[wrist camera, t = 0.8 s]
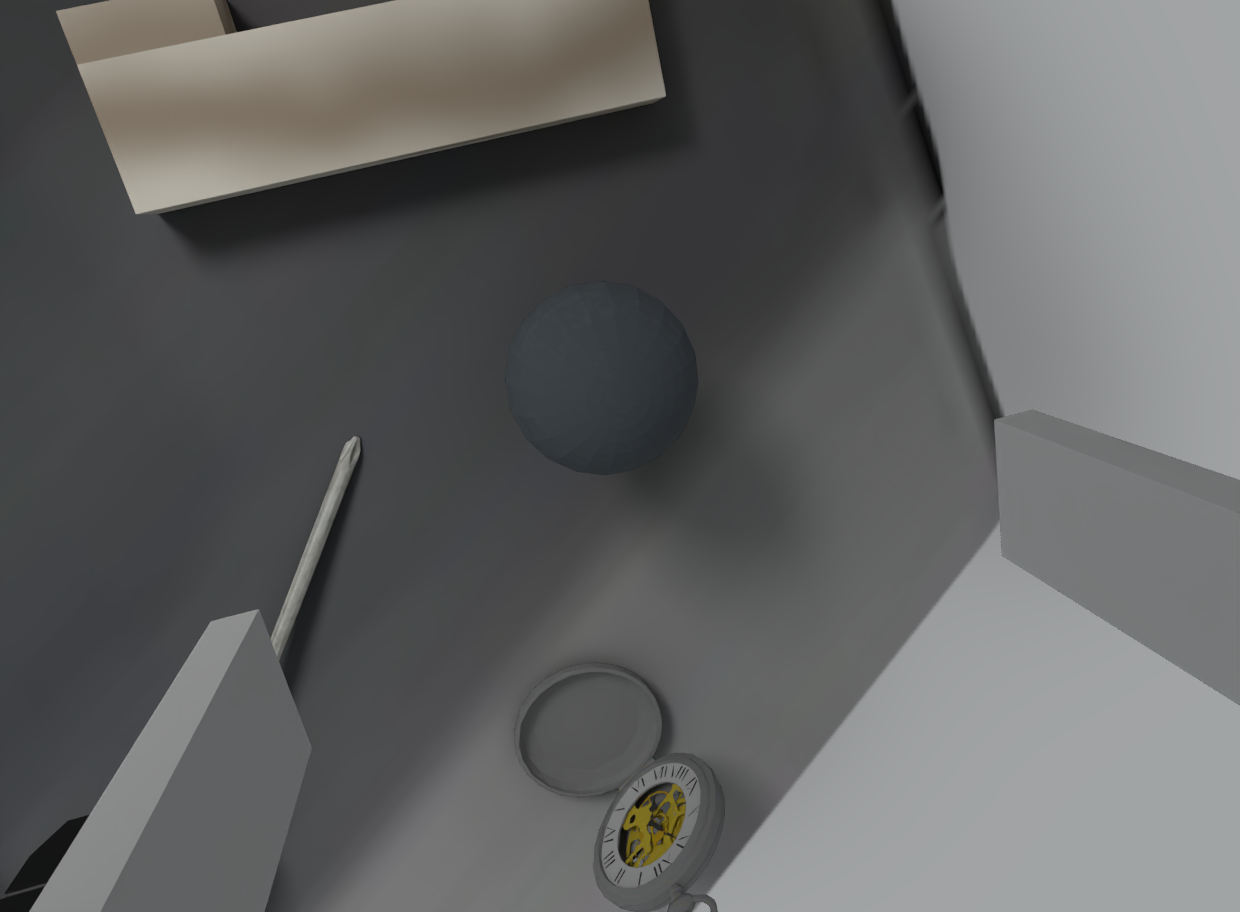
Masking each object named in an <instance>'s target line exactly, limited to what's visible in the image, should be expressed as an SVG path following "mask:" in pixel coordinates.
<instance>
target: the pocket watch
mask: <svg viewBox="0 0 1240 912" xmlns="http://www.w3.org/2000/svg"><path fill="white" fill-rule="evenodd" d="M514 730H515V748H516V754H517V756H518V759H519V762H520V764H521V766H522V767H523V769H524V770H525V772H526V773H527V775H528V776H529V777H531V778H532V779H533V780H534V781H535V782H536V783H537V784H538V785H540V786H542V787H544V788H546V789H548V790H550V791H552V792H554V793H557V794H560V795H564V796H573V797H586V796H596V795H600V794H603V793H606V792H608V791H611V790H614V789H616V788H618V789H619V791H620V792H619V793H618V795H617V796H616V798H615V799H614V800H613V802H612V803H611V805H610V807H609V809H608V811H607V813H606V815H605V818H604V820H603V822H602V824H601V827H600V829H599V832H598V836H597V840H596V844H595V850H594V863H593V869H594V874H595V878H596V882H597V885H598V887H599V889H600V890H601V892H602V893H603V895H604V897H605V898H607V899H608V900H610V901H611V902H613V903H614V904H616V905H617V906H618V907H620V908H622V909H626V910H629V911H635V912H648V911H653V910H657V909H660V908H662V907H664V906H666V905H667V904H669V903H670V905H669V908H668V912H691V911H692V910H693V908H694V906H695V902H704V903H706V904H708V905H709V907H710V909H711V912H717V906H716V902H715V900H714V899H712V898H711V897H709V896H708V895H694V896H693V895H691V894H689V893H685V894H683V893H684V892H686V891H687V890H688V889H689V888H690V887H691V885H692V884H693V883H694V882H695V881H696V880H697V879H698V878H699V876H700V875H701V873H702V872H703V870H704V869H705V867H706V866H707V865H708V863H709V861H710V859H711V857H712V855H713V853H714V851H715V849H716V846H717V844H718V841H719V838H720V835H721V832H722V827H723V822H724V816H725V806H724V795H723V791H722V787H721V785H720V783H719V781H718V780H717V778H716V776H715V774H714V772H713V770H712V769H711V768H710V767H709V766H708V765H707V764H706V763H705V762H704V761H702V760H701V759H699V758H698V757H696V756H694V755H693V754H686V753H673V754H670V755H666V756H663V757H660V758H658V759H657V760H655V758H654V757H653V756H654V754H655V752H656V749H657V747H658V744H659V741H660V738H661V732H662V720H661V712H660V709H659V706H658V703H657V700H656V697H655V695H654V694H653V693H652V692H651V690H650V688H649V687H648V686H647V685H646V684H645V683H644V682H643V680H642V679H641V678H640V677H638V676H637V675H635V674H633V673H632V672H630V671H629V670H626V669H623V668H621V667H618V666H615V665H612V664H600V663H587V664H581V665H575V666H571V667H569V668H566V669H563V670H560V671H558V672H557V673H555V674H553V675H551V676H550V677H548V678H546V679H545V680H544V681H543V682H541V683H540V684H539V685H538V686H537V687H535V689H534V690H533V691H532V692H531V693H530V695H529V696H528V697H527V698H526V700H525V702H524V704H523V705H522V707H521V709H520V711H519V713H518V718H517V722H516V725H515V729H514ZM652 757H653V758H652ZM676 794H677V795H679V797H678V799H677V801H676V802H675V801H674V798H673V796H674V795H676ZM682 795H684V798H681V799H680V797H681V796H682ZM661 801H662V803H661V804H660V805H659V806H658V804H659V803H660V802H661ZM666 802H670V808H669V809H668V811H667V813H666V815H664V814H663V810H662V809H659V808H660V807H661V806H663V805H664V804H665V803H666ZM684 802H686V803H684ZM679 803H680V805H679V806H678V807H677V804H679ZM683 803H684V804H683ZM657 806H658V807H657ZM656 808H657V809H656ZM662 816H663V817H664V820H663V821H662V822H661V823H660V820H661V818H662ZM648 825H649V826H648ZM639 828H640V832H639ZM638 838H639V841H640V842H641V843H640V844H639V845H637V844H638V842H639V841H638V842H637V843H636V847H635V850H634V852H633V844H634V841H635V840H636V839H638ZM651 841H652V842H651ZM650 842H651V843H650ZM650 844H652V845H650ZM643 850H645V852H644V853H643ZM640 852H641V854H640V856H639V857H638V855H639V853H640ZM642 853H643V856H642ZM645 854H646V855H645ZM648 854H649V857H648V859H647V860H646V861H643V862H644V864H643V865H642V866H641V867H639V862H640V860H641V859H643V860H644V858H645V856H647V855H648ZM641 856H642V857H641ZM637 857H638V858H639V860H638V861H636V862H635V863H633V860H634V859H635V858H637ZM638 867H639V868H638Z"/></svg>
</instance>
